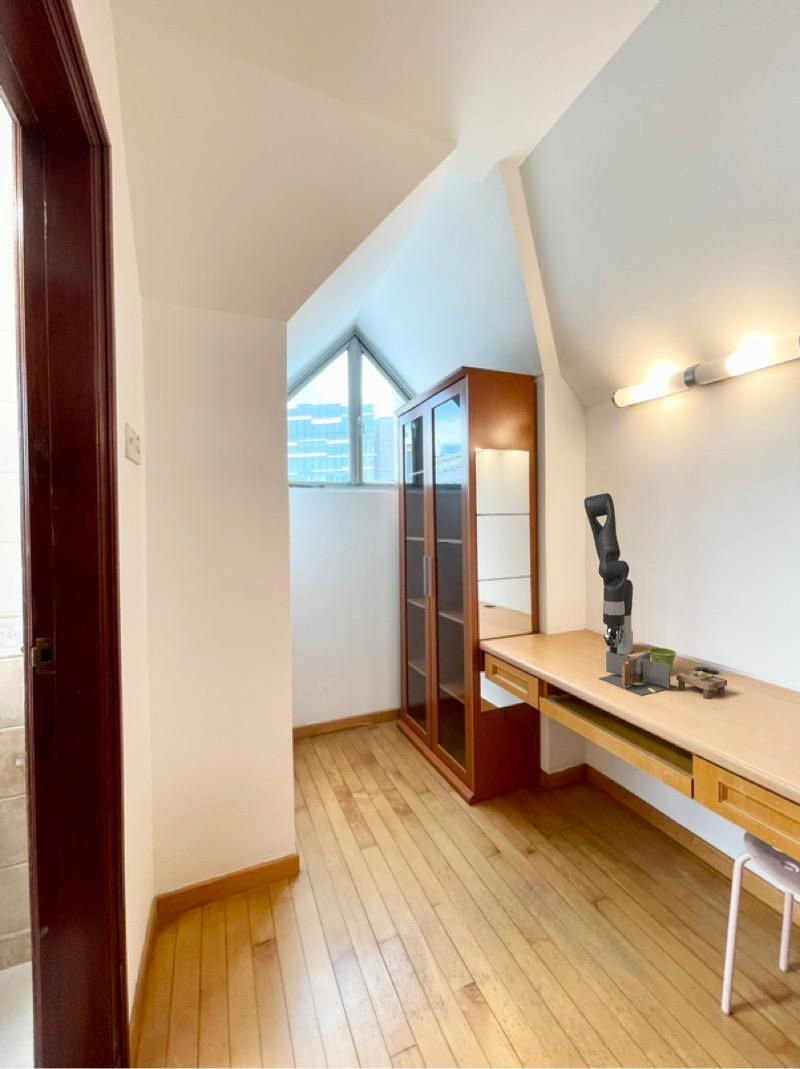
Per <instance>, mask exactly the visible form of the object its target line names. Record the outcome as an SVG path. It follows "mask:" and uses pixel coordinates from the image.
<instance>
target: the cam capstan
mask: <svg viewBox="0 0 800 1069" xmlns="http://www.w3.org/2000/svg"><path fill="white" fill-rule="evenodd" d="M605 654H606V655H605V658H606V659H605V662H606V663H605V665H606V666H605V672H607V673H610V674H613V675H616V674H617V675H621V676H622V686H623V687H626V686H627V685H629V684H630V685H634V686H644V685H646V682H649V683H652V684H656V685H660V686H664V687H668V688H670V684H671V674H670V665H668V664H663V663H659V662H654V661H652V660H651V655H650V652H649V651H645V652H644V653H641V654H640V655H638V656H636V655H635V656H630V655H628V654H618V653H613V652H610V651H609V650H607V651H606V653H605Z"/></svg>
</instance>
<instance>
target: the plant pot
mask: <svg viewBox="0 0 800 1069" xmlns="http://www.w3.org/2000/svg"><path fill="white" fill-rule="evenodd" d="M648 652H650V660H651V661H654V662H659V663H663V664H668V665H670V675H672V673H673V666H674V660H675V658H676V656H677V654H678V653H677V652H676V651H675V650H673V649H669V648H664V647H651V648H648Z"/></svg>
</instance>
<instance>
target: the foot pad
mask: <svg viewBox="0 0 800 1069" xmlns="http://www.w3.org/2000/svg"><path fill="white" fill-rule="evenodd" d="M598 679H599V680H601V681H603V682H606V683H607V684H611V685H613V686H615V687H618V688H621V689H623V690H626V691H628V692H630V693H633V694H636V695H638V696H640V697H643V696H648V695H651V694H654V693H660V692H664V691H668V690H672V689H676V688H678V687H677V686H678V685H673V684H671V683H670V688H668V687H664V686H660V685H656V684H652V683H649V682H646V685H644V686H634V685H630V684H629V685H627V686H626V687H623V686H622V676H621V675H617V674H612V675H611V674H610V675H607V676H603V677H599V678H598Z"/></svg>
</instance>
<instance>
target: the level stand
mask: <svg viewBox="0 0 800 1069" xmlns="http://www.w3.org/2000/svg"><path fill="white" fill-rule="evenodd" d="M675 679H676V681H678V683H677V684H678V685H677V686H678V687H677V688H678V689H679V690H682V691H685V690H686V684H687V685H690V686H692V687H697V688H699V689H702V695H703V699H707V700H710V699H711V697H712V696H711V695H712V694H711V691H713V690H717V694H718V695H721V696H725V692H726V687H727V686H728V679H724V678H721V677H718V676H715V675H714V674H711V673H707V672H706V671H703V670H689V671H686V672H681V673H678V674H676V676H675Z"/></svg>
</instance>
